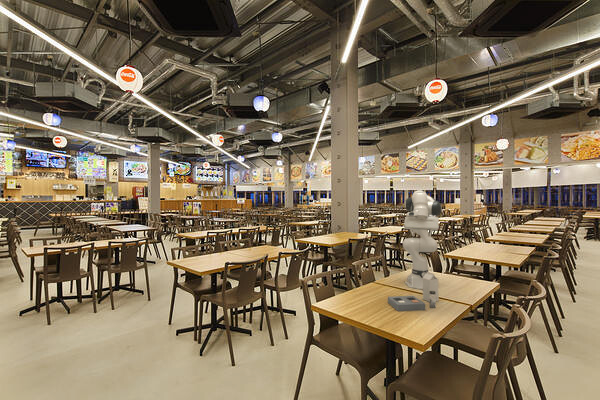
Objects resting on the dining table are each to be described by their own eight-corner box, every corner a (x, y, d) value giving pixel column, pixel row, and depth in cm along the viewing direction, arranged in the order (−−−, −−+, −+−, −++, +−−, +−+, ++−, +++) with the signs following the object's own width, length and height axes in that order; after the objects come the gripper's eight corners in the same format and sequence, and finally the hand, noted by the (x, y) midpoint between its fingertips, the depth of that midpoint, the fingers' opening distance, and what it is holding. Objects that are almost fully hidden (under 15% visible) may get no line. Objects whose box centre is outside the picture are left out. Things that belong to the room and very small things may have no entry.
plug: (428, 306, 186) (428, 291, 187) (433, 306, 187) (433, 290, 187) (431, 308, 183) (431, 292, 183) (436, 308, 183) (436, 292, 183)
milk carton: (430, 302, 194) (429, 274, 194) (422, 299, 201) (422, 271, 201) (438, 301, 196) (438, 273, 196) (431, 298, 203) (430, 271, 203)
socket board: (387, 302, 194) (387, 296, 195) (413, 301, 196) (413, 295, 196) (397, 311, 179) (397, 304, 179) (425, 310, 180) (425, 303, 180)
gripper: (437, 217, 184) (438, 238, 178) (403, 216, 190) (403, 236, 185) (439, 214, 178) (440, 235, 173) (404, 213, 184) (404, 233, 179)
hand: (421, 236), depth 179 cm, fingers open, 8 cm apart
